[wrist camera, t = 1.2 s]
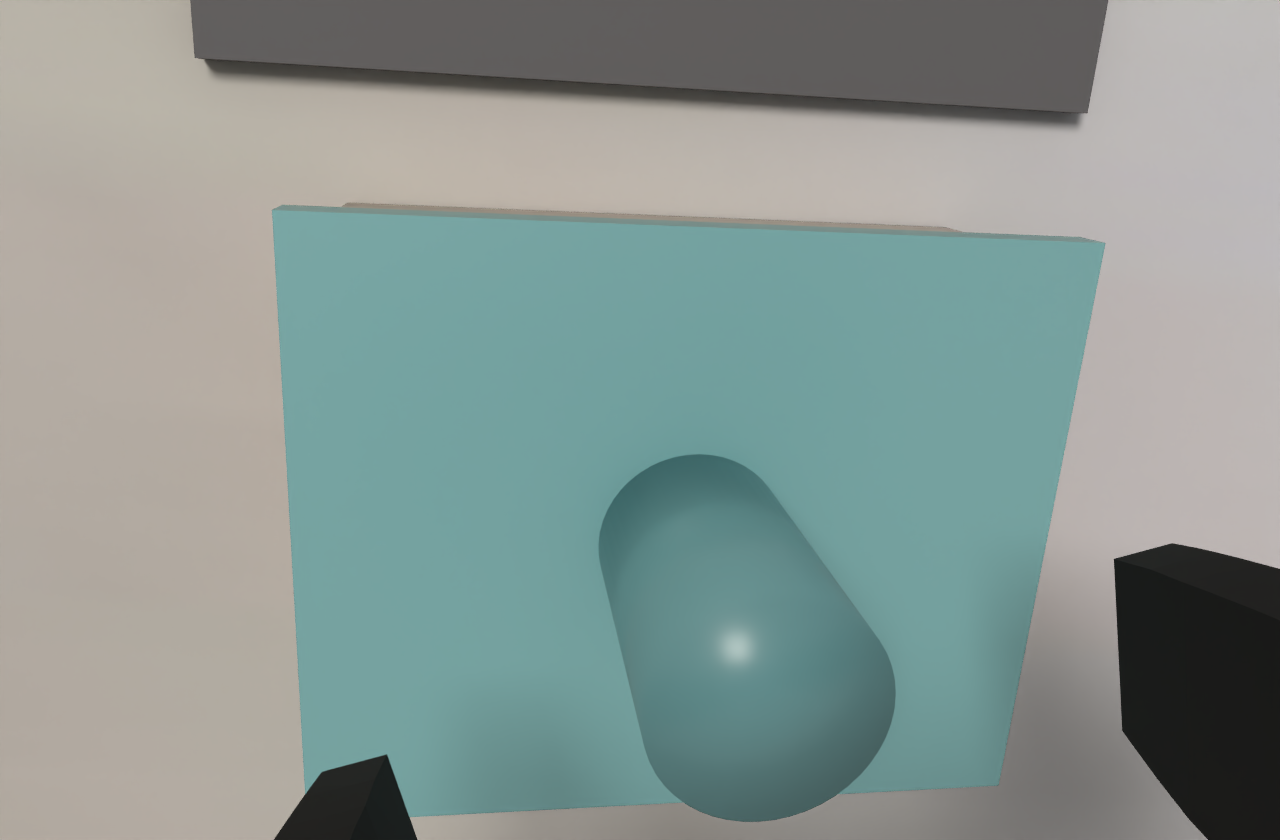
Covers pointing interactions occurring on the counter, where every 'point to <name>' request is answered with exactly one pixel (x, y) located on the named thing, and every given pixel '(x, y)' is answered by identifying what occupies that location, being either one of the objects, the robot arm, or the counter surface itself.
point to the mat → (694, 44)
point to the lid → (667, 501)
